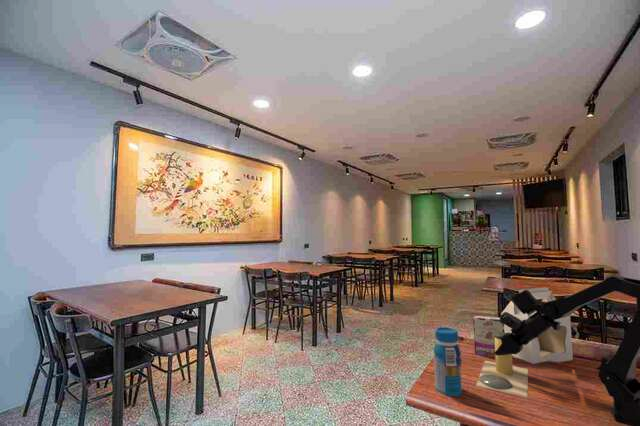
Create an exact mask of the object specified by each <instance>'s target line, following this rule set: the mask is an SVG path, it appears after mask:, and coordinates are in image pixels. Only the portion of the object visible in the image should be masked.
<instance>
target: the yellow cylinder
mask: <svg viewBox="0 0 640 426" xmlns="http://www.w3.org/2000/svg"><path fill="white" fill-rule="evenodd" d="M505 334H506V333H504V332H495V333H494V337H495V352H496V350H497V349H498V348H499V347H500V345H501V344H502V341H501V337H502V336H503V335H505ZM495 357H496V358H495ZM495 357H494V358H495V363H496V371H497V372H499V373H501V374H505V375H511V374H513V366H514V365H513V356H512V354H508V355H499V356H497V355H496V354H495Z"/></svg>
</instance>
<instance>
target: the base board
mask: <svg viewBox="0 0 640 426" xmlns="http://www.w3.org/2000/svg"><path fill="white" fill-rule="evenodd" d="M488 374H489V375H497V376H501V377H503V378H506V379H507V380H509V381H510V382H511V387H510V388H508V389H496V388H492V387H489V386H486V385H484V384H483V383H482V382H481V381H480V376H482V375H488ZM528 377H529V369H528V368H524V367H519V366H515V365H513V374H511V375H505V374H501V373H499V372H497V371H496V361H495V362H493V361H488V360H484V362H483V365H482V367H481V371H480V374H479V376H478V379H477V382H476V384H475V386H476V387H477V388H483V389H486V390H492V391H495V392H499V393H503V394H508V395H513V396H517V397H521V398H525V399H528V389H529V388H528V387H529V384H528V383H529V381H528V379H529V378H528Z"/></svg>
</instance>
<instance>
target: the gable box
mask: <svg viewBox="0 0 640 426" xmlns="http://www.w3.org/2000/svg"><path fill="white" fill-rule="evenodd" d="M524 290H528V291H529V292H530V293H531V294H532V296H533V297H534V298H535V299H536V300H542V301H541V302H547V301H551V300H555V299H557V298H556V296H555V295H554V293H552V292H553V290H549V287H548V286H547V287H546V286H543V287H531V288H530V287H529V288H521V289H518V293H517V294H519V293H521V292H523V291H524ZM504 312H508V313H510V314H511V315H513V316H515V317H517V318H518V319H520V320H521V321H523V320H526V319H528V318H529V317H530V316H532V315H533V314H534V313H536V312H537V311H535V312H534V313H532V314H530V315H528V314H527V313H526V314H523V313H522V312H521V311H520V310H519V309H518V308H517V307H516V306H515V305H514V303H513V302H512V301H511V300H510V301H509V303H508V304H507V305H506V307H505V308H504V309H503V311H502V312H501V316H502V314H503V313H504ZM555 321H557V322H561V323H560V328H561V330H554V329H553V328H552V327H550V328H549V329H547V330H546V331H545V332H543V333H542V334H540V335H539V336H538V337H537V338H535V339H533V340H532V341H530V342H529V343H528V344H527V345H523V349H522V350H521V351H520V352H519V353H517V354H512V357H515V358H517V359H520V360H523V361H525V362H528V363H530V364H533V365H535V364H539V363H545V362H553V363H554V362H555V363H564V362H569V361H573V359H574V356H573V354H574V353H573V340H572V339H573V338H572V326H571V321H572V320H571V314H570V315H569V316H567V317H564V318H560V319H556V320H555ZM511 329H512V328H510V327H508V326H506V325H505V324H504V333H512V331H511Z"/></svg>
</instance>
